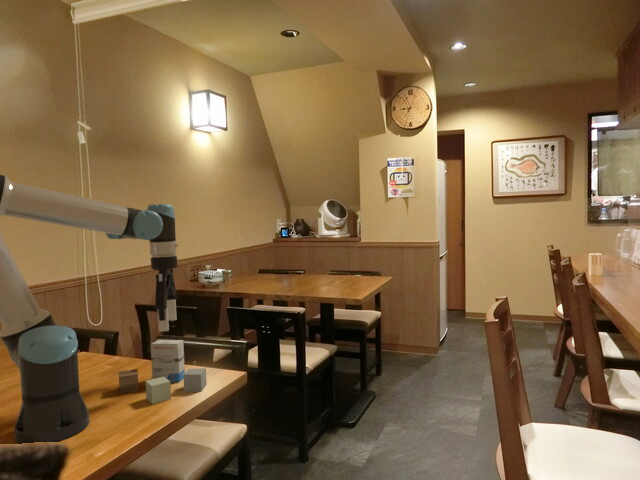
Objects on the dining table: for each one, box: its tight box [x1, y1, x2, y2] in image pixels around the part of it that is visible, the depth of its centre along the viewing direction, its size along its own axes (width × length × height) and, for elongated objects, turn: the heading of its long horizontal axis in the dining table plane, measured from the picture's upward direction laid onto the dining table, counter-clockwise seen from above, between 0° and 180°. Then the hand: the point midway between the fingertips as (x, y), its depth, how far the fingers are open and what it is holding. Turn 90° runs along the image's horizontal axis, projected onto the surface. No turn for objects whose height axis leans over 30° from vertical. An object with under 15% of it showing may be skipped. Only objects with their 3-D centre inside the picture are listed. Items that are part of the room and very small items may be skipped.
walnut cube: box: [118, 368, 140, 395], centre depth 131 cm, size 5×5×5 cm
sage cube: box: [145, 377, 172, 405], centre depth 124 cm, size 5×5×5 cm
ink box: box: [150, 339, 186, 383], centre depth 138 cm, size 8×5×12 cm, turn 84°
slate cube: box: [183, 367, 207, 393], centre depth 131 cm, size 5×5×5 cm
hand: (168, 325), depth 138 cm, fingers open, 13 cm apart
